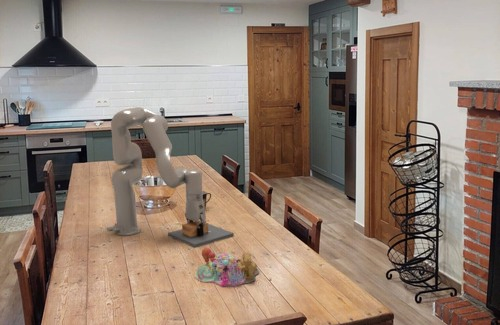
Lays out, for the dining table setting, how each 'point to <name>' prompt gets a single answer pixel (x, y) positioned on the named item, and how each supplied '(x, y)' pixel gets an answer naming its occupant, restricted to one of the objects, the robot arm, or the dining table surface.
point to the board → (212, 236)
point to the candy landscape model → (226, 269)
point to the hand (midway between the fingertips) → (195, 233)
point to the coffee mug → (205, 197)
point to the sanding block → (193, 229)
